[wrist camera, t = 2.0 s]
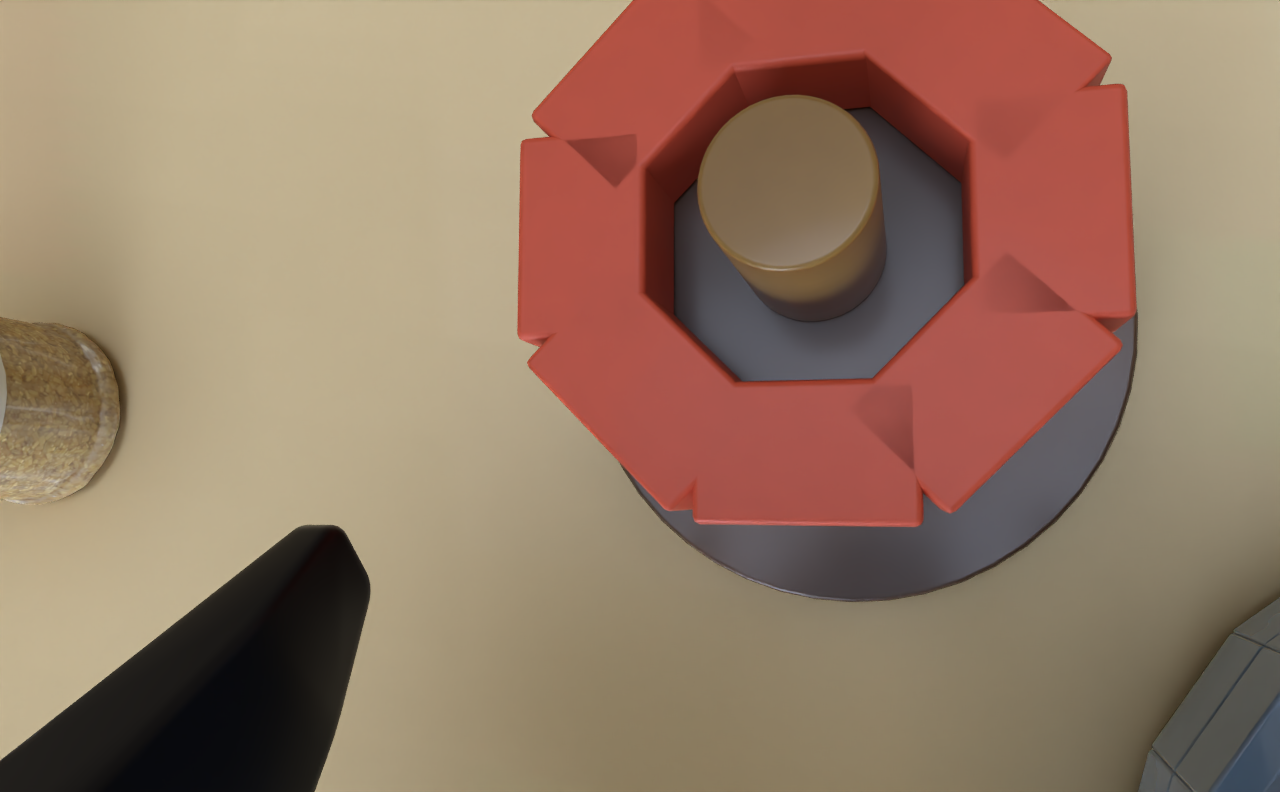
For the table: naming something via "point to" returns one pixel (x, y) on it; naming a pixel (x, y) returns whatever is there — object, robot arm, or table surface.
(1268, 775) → the dish
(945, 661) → the table surface
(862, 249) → the ring stand
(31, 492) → the sprinkles bottle
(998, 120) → the ring
